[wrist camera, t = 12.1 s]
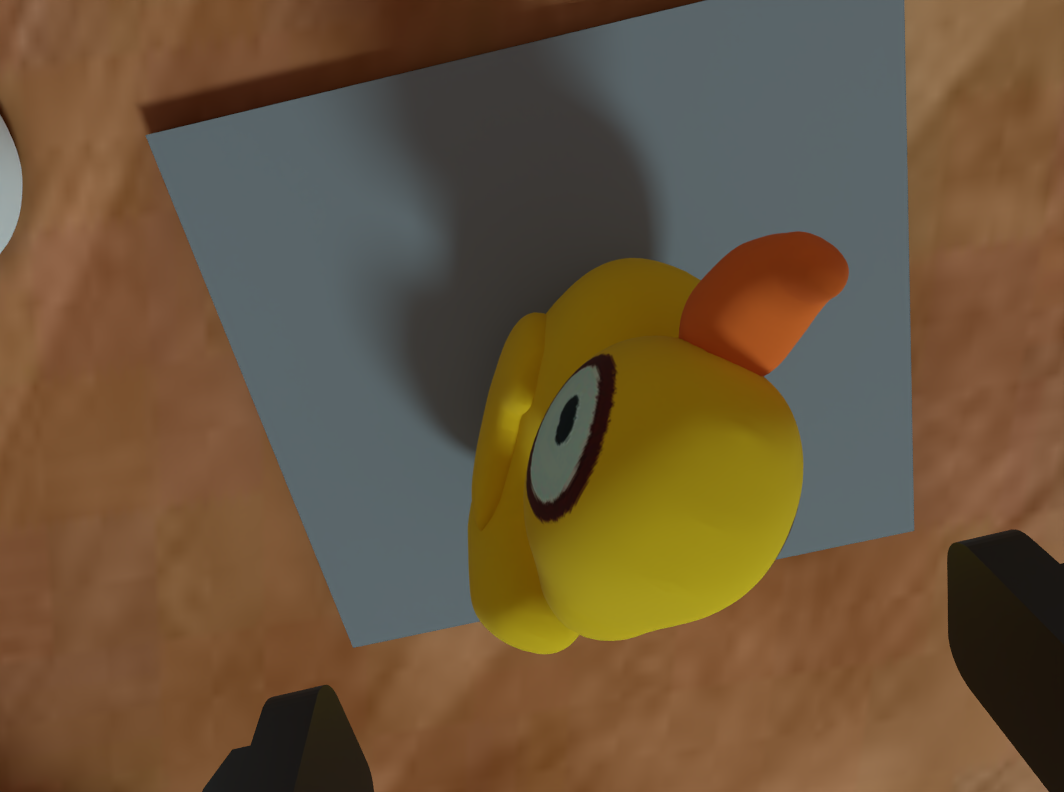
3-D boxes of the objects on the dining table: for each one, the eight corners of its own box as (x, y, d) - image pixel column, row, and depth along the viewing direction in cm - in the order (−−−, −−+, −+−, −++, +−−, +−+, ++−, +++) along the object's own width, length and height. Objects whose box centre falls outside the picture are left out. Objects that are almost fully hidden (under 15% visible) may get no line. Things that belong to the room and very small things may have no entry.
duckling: (599, 117, 19) (703, 180, 10) (784, 212, 20) (1033, 349, 11) (419, 490, 23) (372, 785, 14) (583, 551, 24) (641, 862, 15)
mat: (356, 634, 25) (353, 647, 25) (155, 132, 19) (145, 135, 18) (904, 519, 25) (914, 530, 24) (890, -45, 18) (903, -48, 18)
